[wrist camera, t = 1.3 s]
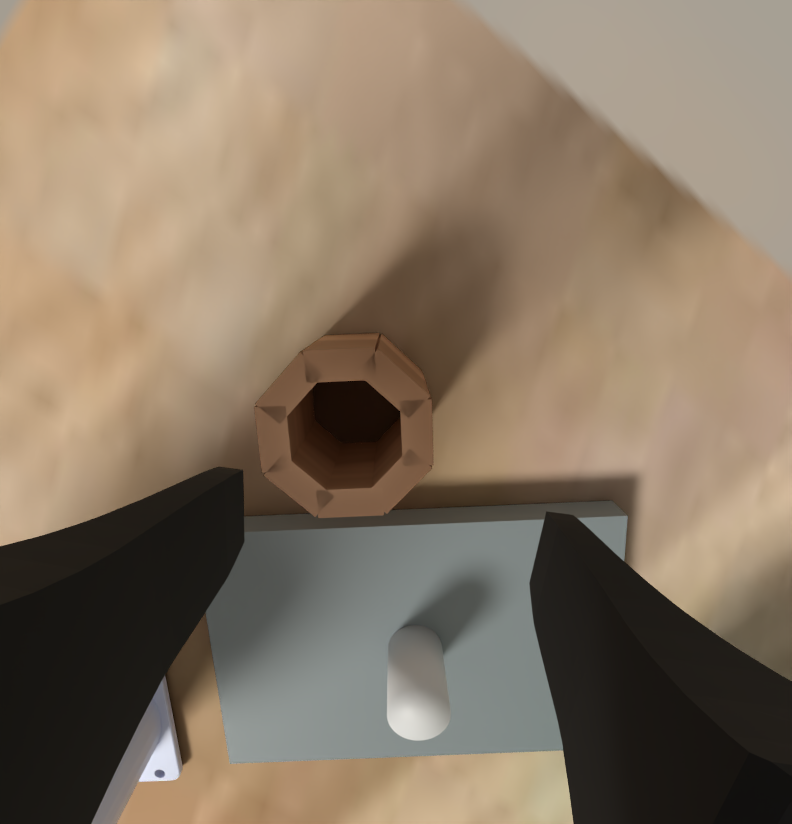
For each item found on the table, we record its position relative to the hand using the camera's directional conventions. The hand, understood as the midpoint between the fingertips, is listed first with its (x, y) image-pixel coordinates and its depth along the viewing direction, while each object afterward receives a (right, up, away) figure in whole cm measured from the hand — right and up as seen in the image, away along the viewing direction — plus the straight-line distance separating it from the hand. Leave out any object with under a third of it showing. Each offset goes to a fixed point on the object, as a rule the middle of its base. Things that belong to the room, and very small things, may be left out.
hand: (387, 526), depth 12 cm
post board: (+1, -7, +12) cm, 14 cm away
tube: (-1, +3, +9) cm, 10 cm away
